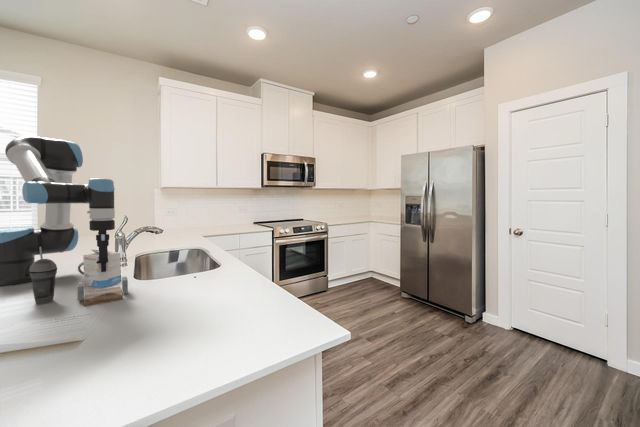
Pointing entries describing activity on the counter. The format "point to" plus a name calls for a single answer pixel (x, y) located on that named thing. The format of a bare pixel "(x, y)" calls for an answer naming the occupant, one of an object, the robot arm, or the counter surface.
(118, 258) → the ink box
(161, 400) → the counter surface
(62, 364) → the counter surface
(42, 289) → the beverage cup
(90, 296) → the roll holder
